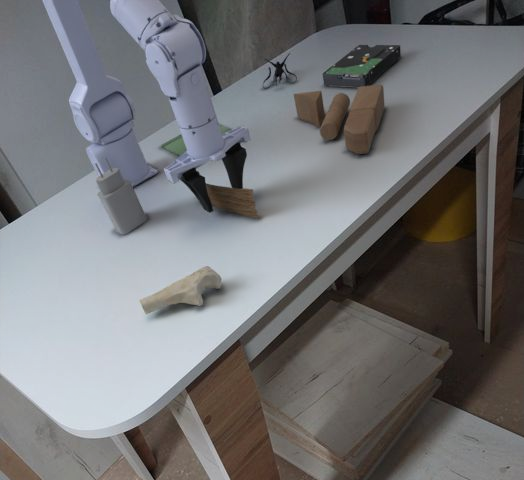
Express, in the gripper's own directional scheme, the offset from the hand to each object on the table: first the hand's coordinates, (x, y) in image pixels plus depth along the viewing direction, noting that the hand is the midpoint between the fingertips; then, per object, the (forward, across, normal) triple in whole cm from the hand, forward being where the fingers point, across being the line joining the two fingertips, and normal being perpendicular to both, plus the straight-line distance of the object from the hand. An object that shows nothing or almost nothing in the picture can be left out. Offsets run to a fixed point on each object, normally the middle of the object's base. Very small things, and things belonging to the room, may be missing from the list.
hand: (223, 200), depth 86 cm
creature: (+2, +37, +33) cm, 50 cm away
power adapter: (+2, -13, +11) cm, 17 cm away
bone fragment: (+2, -17, -15) cm, 23 cm away
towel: (+1, +11, +28) cm, 30 cm away
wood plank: (+2, 0, 0) cm, 2 cm away
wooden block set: (+2, +26, +3) cm, 26 cm away
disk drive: (+2, +48, +18) cm, 51 cm away
